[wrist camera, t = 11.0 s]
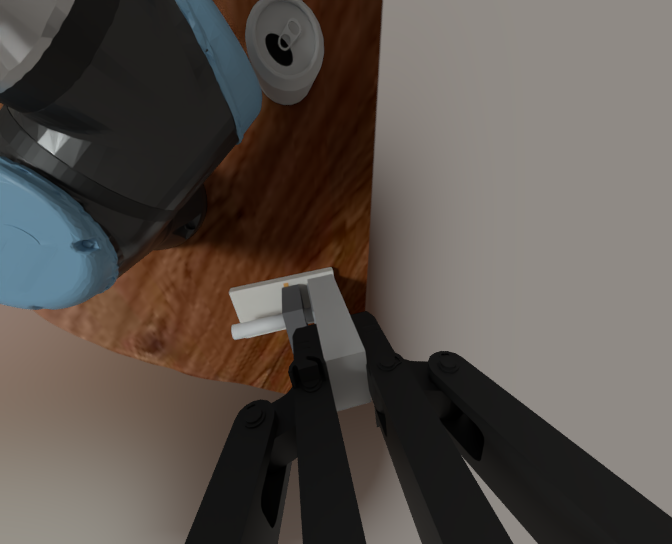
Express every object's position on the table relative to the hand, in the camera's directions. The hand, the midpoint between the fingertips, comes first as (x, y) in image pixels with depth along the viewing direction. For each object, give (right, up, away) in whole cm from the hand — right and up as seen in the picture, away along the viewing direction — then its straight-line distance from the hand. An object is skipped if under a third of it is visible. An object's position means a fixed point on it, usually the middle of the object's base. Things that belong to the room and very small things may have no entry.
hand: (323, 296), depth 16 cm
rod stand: (-8, -4, +33) cm, 34 cm away
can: (-6, +28, +19) cm, 34 cm away
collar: (-7, -4, +31) cm, 32 cm away
